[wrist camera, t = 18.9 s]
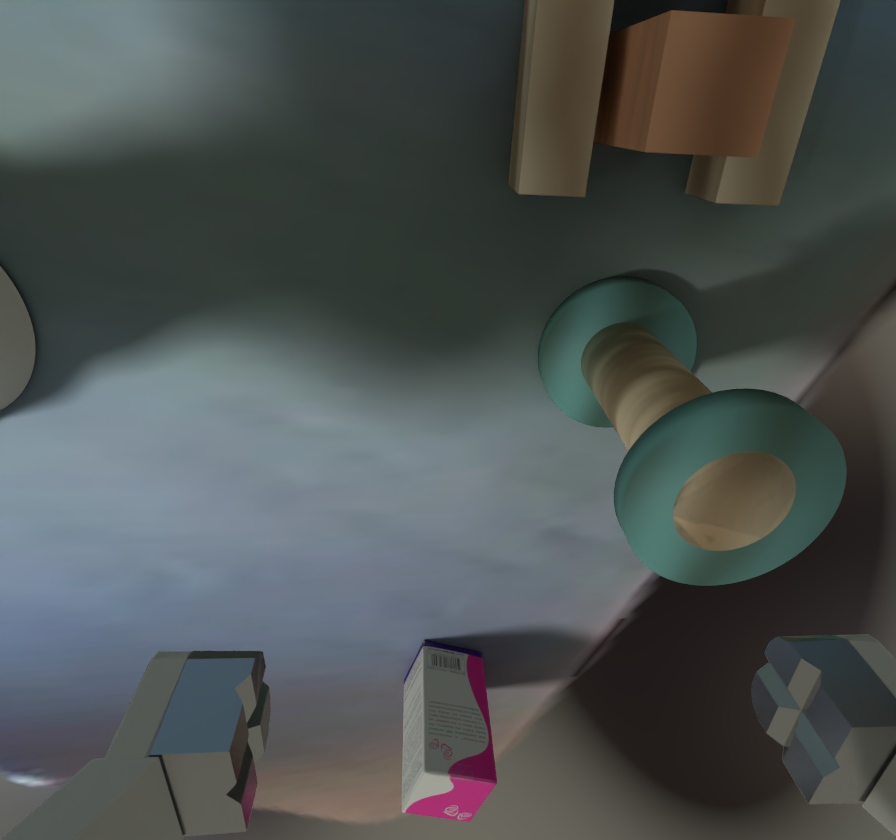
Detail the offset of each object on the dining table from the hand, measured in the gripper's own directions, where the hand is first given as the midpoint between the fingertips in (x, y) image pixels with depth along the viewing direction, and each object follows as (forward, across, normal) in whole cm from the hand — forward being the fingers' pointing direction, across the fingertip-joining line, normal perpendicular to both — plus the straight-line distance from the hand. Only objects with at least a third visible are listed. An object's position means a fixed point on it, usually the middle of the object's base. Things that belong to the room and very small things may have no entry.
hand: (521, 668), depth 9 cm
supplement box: (+30, -2, +37) cm, 47 cm away
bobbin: (+29, -12, +6) cm, 32 cm away
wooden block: (+29, -11, -9) cm, 33 cm away
